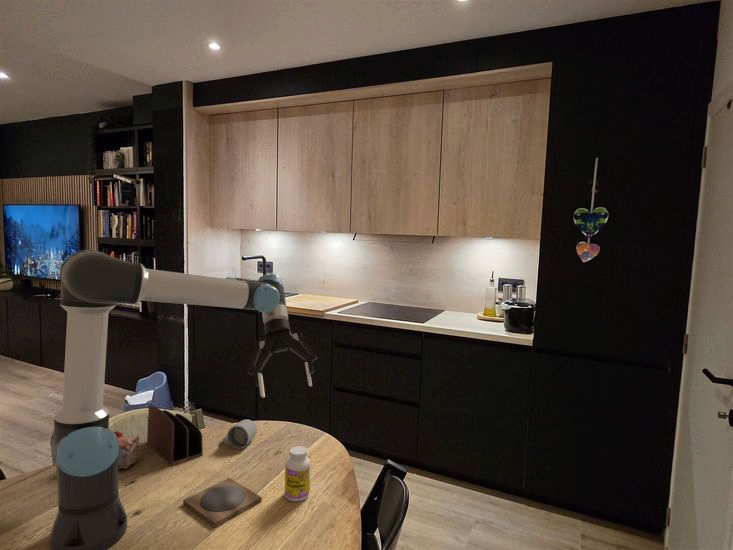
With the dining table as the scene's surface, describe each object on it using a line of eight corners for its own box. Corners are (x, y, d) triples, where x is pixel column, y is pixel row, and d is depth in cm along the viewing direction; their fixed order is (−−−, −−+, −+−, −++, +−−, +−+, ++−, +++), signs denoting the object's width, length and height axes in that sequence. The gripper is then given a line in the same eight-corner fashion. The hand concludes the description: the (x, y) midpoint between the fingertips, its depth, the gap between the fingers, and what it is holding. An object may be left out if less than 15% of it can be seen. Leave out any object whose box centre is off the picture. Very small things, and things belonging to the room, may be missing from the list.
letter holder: (171, 467, 133) (171, 421, 132) (146, 443, 147) (146, 401, 146) (203, 456, 140) (203, 412, 139) (177, 434, 154) (177, 395, 153)
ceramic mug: (258, 439, 153) (258, 417, 152) (248, 450, 145) (248, 427, 144) (229, 436, 154) (229, 414, 154) (217, 447, 146) (217, 424, 146)
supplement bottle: (281, 502, 118) (283, 455, 117) (287, 487, 124) (288, 443, 123) (307, 503, 118) (308, 456, 116) (311, 489, 124) (312, 445, 123)
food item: (142, 459, 137) (142, 428, 136) (129, 473, 129) (129, 440, 128) (98, 457, 136) (97, 426, 136) (81, 471, 129) (81, 438, 128)
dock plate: (215, 527, 107) (215, 522, 107) (183, 504, 115) (183, 499, 115) (261, 501, 118) (261, 496, 118) (229, 481, 126) (229, 477, 126)
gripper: (317, 317, 140) (331, 383, 131) (238, 335, 138) (246, 403, 128) (315, 308, 134) (328, 377, 124) (231, 326, 131) (239, 398, 122)
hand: (286, 390), depth 126 cm, fingers open, 13 cm apart
